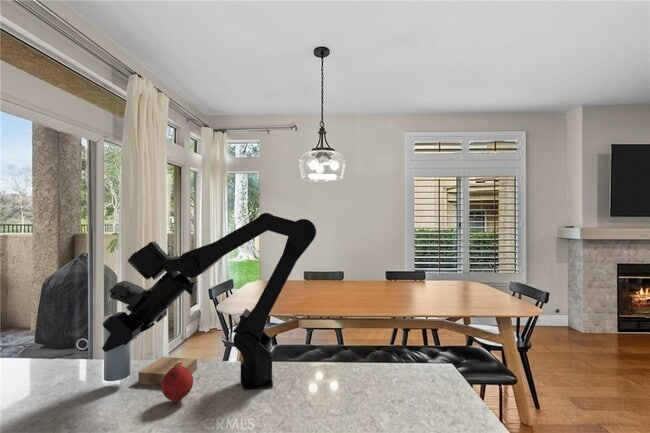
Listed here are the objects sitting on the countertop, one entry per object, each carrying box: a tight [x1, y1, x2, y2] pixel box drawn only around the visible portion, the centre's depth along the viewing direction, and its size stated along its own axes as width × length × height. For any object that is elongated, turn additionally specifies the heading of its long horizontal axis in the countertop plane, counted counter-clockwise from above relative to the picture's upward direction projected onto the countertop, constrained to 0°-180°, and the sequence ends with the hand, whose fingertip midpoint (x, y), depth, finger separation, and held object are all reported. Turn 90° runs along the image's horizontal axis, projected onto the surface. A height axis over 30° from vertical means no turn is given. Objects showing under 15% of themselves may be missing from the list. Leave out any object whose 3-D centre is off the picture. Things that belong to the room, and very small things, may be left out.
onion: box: [161, 361, 194, 403], centre depth 70 cm, size 6×6×8 cm
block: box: [138, 356, 198, 386], centre depth 81 cm, size 9×9×2 cm
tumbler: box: [102, 312, 131, 382], centre depth 76 cm, size 5×5×13 cm
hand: (110, 345), depth 76 cm, fingers closed on tumbler, 5 cm apart
